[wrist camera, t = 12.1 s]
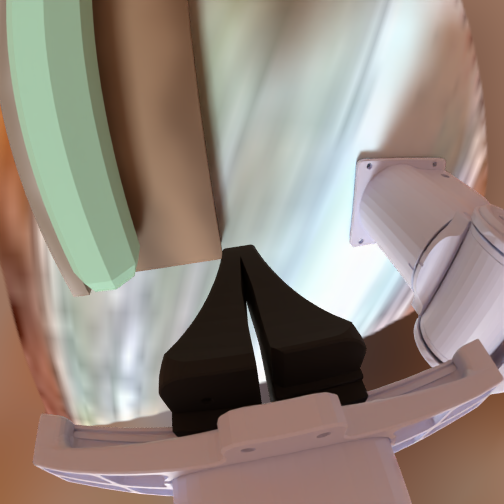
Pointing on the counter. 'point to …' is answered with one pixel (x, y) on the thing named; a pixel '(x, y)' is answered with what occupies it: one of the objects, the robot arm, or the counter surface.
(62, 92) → the container
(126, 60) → the shelf
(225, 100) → the counter surface
